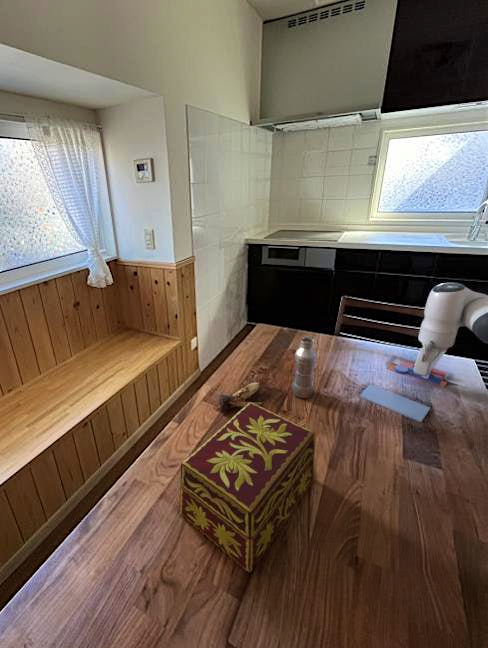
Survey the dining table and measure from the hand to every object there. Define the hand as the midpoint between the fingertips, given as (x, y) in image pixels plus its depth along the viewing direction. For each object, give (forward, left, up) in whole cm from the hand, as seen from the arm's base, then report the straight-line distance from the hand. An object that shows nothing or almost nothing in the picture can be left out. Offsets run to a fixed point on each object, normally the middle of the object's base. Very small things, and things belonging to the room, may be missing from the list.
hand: (426, 374), depth 106 cm
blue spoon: (+4, 0, -2) cm, 4 cm away
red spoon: (+4, -8, -4) cm, 10 cm away
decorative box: (+15, +70, -5) cm, 72 cm away
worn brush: (+37, +46, -5) cm, 59 cm away
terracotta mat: (+4, -8, -5) cm, 10 cm away
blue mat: (+4, +14, -5) cm, 16 cm away
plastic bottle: (+26, +29, -5) cm, 39 cm away
